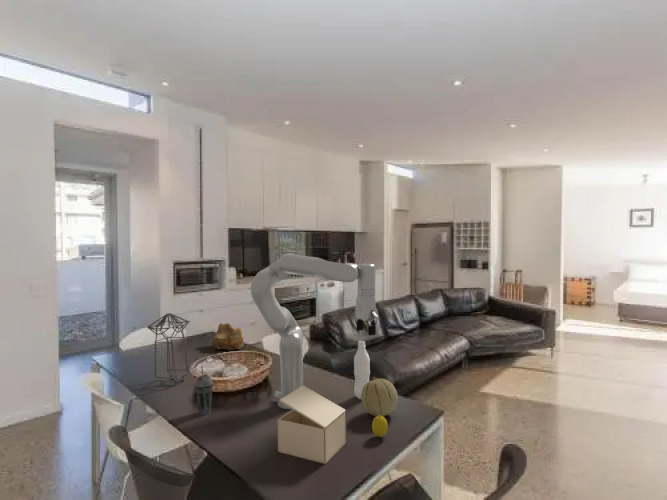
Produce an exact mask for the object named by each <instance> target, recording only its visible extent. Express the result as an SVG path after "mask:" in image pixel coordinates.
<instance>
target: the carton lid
mask: <svg viewBox="0 0 667 500" xmlns="http://www.w3.org/2000/svg"><path fill="white" fill-rule="evenodd" d="M280 402H282V403H284V404H285V405H287V406H289V407H290V408H292V409H291V410H295V411H297V412H298V413H300V414H302V415H303V416H305V417H306V418H308V419H310V420H311V421H313V422H315V423H316V424H318V425H320V426H321V427H323V428H324V429H325V428H326V427H328V426H329V425H330V424H331V423H332V422H334V421H335V420H336V419H337V418H338V417H339V416H341V415H342V414H343V413H344V412H345V413H346V409H345V408H343V407H342V406H339V405H338V404H337V403H334V402H333V401H331V400H330V399H327V398H326V397H325V396H322V395H321V394H319V393H317V392H315V391H314V390H313V389H311V388H309V387H307V386H305V385H304V384H303V386H302V387H300V388H298V389H297V390H295V391H293V392H292V393H290V394H289V395H287V396H285V397H284V398H282V399H280Z"/></svg>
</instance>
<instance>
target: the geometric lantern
mask: <svg viewBox="0 0 667 500" xmlns="http://www.w3.org/2000/svg"><path fill="white" fill-rule="evenodd" d="M180 320H181V321H180ZM157 322H158V323H157ZM156 323H157V324H156ZM166 323H168V324H167V325H168V326H167V327H164V325H165V324H166ZM190 323H191V321H190V320H188V319H186V318H183V317H180V316H177V315H176V314H173V313H171V312H169V313H166V314H164V315H163V316H161V317H160V318H159V319H157V320H155V321H154V322H152V323H151V324H149V325H147V329H149V331H151V332H152V333H154V334H155V341H154V378H155V379H157V380H159V381H160V382H161V383H164V382H166V383H172V385H175V383H177V382H178V381H180V380H183V379H184V380H185V377H186V376H187V375H188V374H189V373H190V368H189V362H188V361H189V360H188V355H187V351H186V350H187V349H186V348H187V347H186V341H185V340H186V337H185V334H184V329H185V328H186V327H187V325H189V324H190ZM154 324H156V325H154ZM171 326H172V327H171ZM169 329H173V330H174V331H173V332H172V334H171V336H168V335H166V333H165V332H167V331H168V330H169ZM158 332H160V333H158ZM179 333H181V335H182V336H177V334H179ZM174 334H175V335H174ZM158 335H162V336H163V338H160V339H158ZM172 338H173V339H172ZM175 338H177V339H178V340H175ZM157 339H158V340H157ZM169 339H170V341H169ZM162 340H165V341H166V342H163V341H162ZM174 340H175V341H174ZM179 341H183V342H182V343H183V347H184V355H185V356H184V357H185V365H186V369H178V368H177V367H176V357H175V349H174V344H175V343H177V342H179ZM157 344H166V360H167V361H166V368H167V369H166V370H164V371H162V372H160V373H158V372H157ZM170 349H171V350H170ZM170 351H171V353H170ZM171 361H172V363H171ZM171 365H172V367H171ZM177 371H179V372H180V371H182V372H183V371H184V373H182V374H180V375H178V374H177ZM174 372H175V375H173V373H174ZM164 373H168V376H167V377H162V376H161V377H160V375H162V374H164ZM169 379H171V380H169ZM172 379H176V380H172ZM177 379H178V380H177ZM168 380H169V381H168ZM161 383H160V384H161Z"/></svg>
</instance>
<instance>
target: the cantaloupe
mask: <svg viewBox="0 0 667 500" xmlns="http://www.w3.org/2000/svg"><path fill="white" fill-rule="evenodd" d="M398 395H399V394H398V392H397V389H396V387H395V386H394V384H393V383H392V382H391V381H389V380H387V379H385V378H377V377H375V376H372V377H371V380H369V382H367V383H366V384H365V386H364V387H363V389H362V394H361V399H360V400H361V402H362V405H363V408H364V409H365V411H366V412H367V413H368V414H369V415H371V416H374V417H376V416H379V415H381V416H383V417H385V416H388V415H390V414H392V413H393V412H394V411H395V410H396V409H397V406H398V402H399V398H398V397H399V396H398Z"/></svg>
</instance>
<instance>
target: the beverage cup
mask: <svg viewBox="0 0 667 500" xmlns="http://www.w3.org/2000/svg"><path fill="white" fill-rule="evenodd" d="M200 367H201V369H200V370H201V375H200V376H199V377H198V378H196V380H195V384H194V387H195V388H194V389H195V392H196V402H197V408H198V409H197V410H198V413H199V416H200V415H201V416H207V415H209V414H211V409H212V396H213V387H214V382H213V379H212V377H211V376H209V374H208V375H207V374H204V369H203V365H200Z"/></svg>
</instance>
